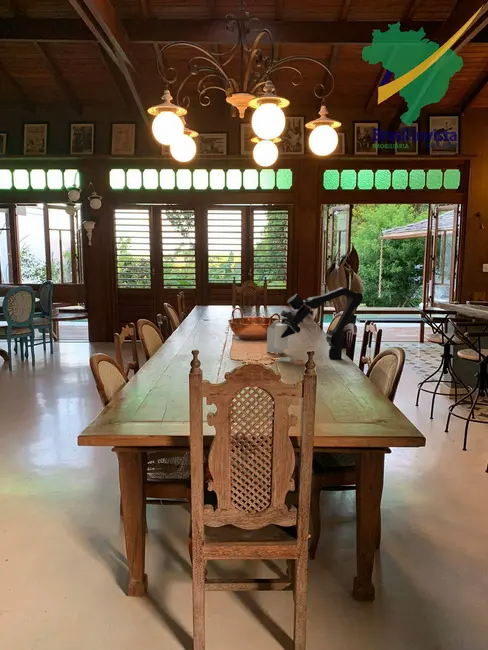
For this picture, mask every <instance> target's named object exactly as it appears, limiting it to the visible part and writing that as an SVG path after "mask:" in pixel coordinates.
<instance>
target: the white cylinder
mask: <svg viewBox="0 0 488 650" xmlns="http://www.w3.org/2000/svg"><path fill="white" fill-rule="evenodd" d="M287 325H288V324H276V325H275V348H277V349H283V350H287V349H289V336H290V335H289V336H286V337H284V338H281V335H282V334H283V333H284V332H285V330H286V329H287Z"/></svg>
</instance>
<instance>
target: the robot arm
mask: <svg viewBox="0 0 488 650" xmlns="http://www.w3.org/2000/svg"><path fill="white" fill-rule="evenodd" d="M343 296H344V297H345V298H347V299H346V304H345V307H344V310H343V311H342V312H341V315H340V317H339V319H338V321H337V322H336V325H335V326H334V328H333V329H329V330H328V333H327V334H326V335H325V336H326V338H325V340H326V343H328V346H329V347H330V348H329V349H328V358H329V359H330V360H339V361H340V360H343V357H342V356H343V349H344V348H345V344H344V342H342V338H343V331H344V330H345V328H346V326H347V324H348V322H349V320H350V318H351V316H352V315H353V313H354V310H355V309H356V308H357V307H358V306H360V304H361V303H362V302H363V300H364V296H363V294H362V293H361V292H358V291H352V290H351V289H348V288H347V287H344V286H340V287H338V288H337V289H334V290H331V291H329V292H327V293H323V294H322V295H316V296H311V297H308V298H306V299H302V297H300V295H299V294H298V293H295V294H294V295H293V296H291V297H290V298H288V300H287V303H288V304H289V306H290V307H291V308H292V309H293V310H294V311H295V310H296V312H293V311H290V310H288V311H286V310H284V309H282V311H281V313H280V317H282V318H281V319H280V323H281V324H288V325H287V329H286V330H285V332H284V333H283V334H282V335H281V338H284V337H286V336H292V335H296V334H299V333H300V332H301V327H300V326H299V325H300V324H301V323H303V322H304V320H305V319H306V318H307V317H308V316H311V317H314V310H316V309H318V308H319V307H322V306H323V304H325V303H327V302H329V301H333V300H334V299H336V298H339V297H343ZM311 309H312V310H311Z"/></svg>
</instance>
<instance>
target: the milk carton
mask: <svg viewBox="0 0 488 650" xmlns="http://www.w3.org/2000/svg"><path fill="white" fill-rule="evenodd" d="M276 324H281V322H279V319H276V320H273V322H272V323H271V324H270V325H269V326H268V327H267V331H266V332H267V333H266V334H267V335H266V353H267V352H274V353H279V354H278V355H280V354H282V353H283V352H284V349H277V348H275V325H276Z"/></svg>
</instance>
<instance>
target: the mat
mask: <svg viewBox="0 0 488 650" xmlns="http://www.w3.org/2000/svg"><path fill="white" fill-rule="evenodd" d="M279 357H280V359H278V360H275V361H274V362H291V357H287V356H286V357H285V356H284V357H283V356H279Z"/></svg>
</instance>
